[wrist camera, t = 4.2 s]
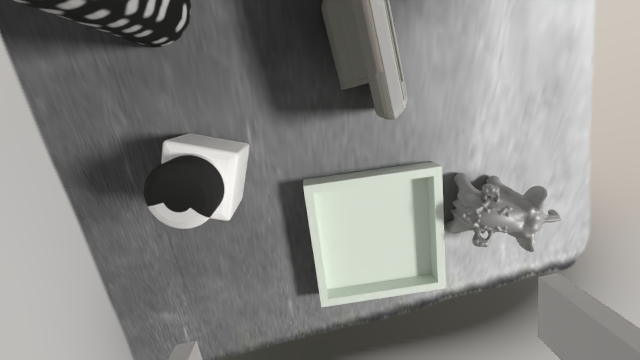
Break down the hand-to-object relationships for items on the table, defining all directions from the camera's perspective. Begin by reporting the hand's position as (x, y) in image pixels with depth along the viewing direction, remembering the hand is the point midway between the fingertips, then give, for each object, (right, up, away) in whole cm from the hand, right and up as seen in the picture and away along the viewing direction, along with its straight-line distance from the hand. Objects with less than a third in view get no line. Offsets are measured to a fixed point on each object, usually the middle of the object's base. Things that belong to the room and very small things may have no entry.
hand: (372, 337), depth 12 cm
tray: (+5, 0, +29) cm, 29 cm away
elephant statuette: (+19, +4, +29) cm, 35 cm away
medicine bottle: (-14, +8, +26) cm, 30 cm away
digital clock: (+3, +22, +23) cm, 32 cm away
